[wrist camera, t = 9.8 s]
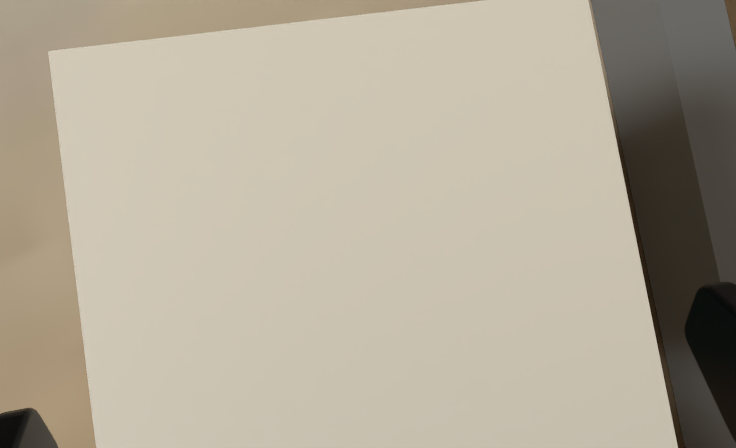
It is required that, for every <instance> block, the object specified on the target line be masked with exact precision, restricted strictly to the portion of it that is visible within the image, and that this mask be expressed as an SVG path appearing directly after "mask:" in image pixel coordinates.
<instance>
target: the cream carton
mask: <svg viewBox="0 0 736 448" xmlns="http://www.w3.org/2000/svg"><path fill="white" fill-rule="evenodd" d="M48 54H49V62H50V70H51V78H52V87H53V95H54V103H55V111H56V120H57V128H58V136H59V144H60V153H61V161H62V169H63V177H64V186H65V194H66V202H67V210H68V219H69V227H70V235H71V243H72V252H73V260H74V268H75V276H76V285H77V293H78V301H79V309H80V318H81V326H82V334H83V342H84V351H85V359H86V367H87V375H88V384H89V392H90V400H91V409H92V417H93V425H94V433H95V442H96V448H678V445H677V440H676V435H675V430H674V425H673V420H672V415H671V410H670V405H669V400H668V395H667V390H666V385H665V380H664V375H663V371H662V366H661V361H660V356H659V351H658V346H657V341H656V336H655V331H654V326H653V321H652V316H651V311H650V306H649V301H648V296H647V291H646V286H645V281H644V276H643V271H642V266H641V261H640V256H639V251H638V246H637V241H636V236H635V231H634V226H633V221H632V216H631V211H630V206H629V201H628V196H627V191H626V186H625V181H624V176H623V171H622V166H621V161H620V156H619V151H618V146H617V141H616V136H615V131H614V126H613V121H612V116H611V111H610V106H609V101H608V96H607V91H606V86H605V81H604V76H603V71H602V66H601V61H600V56H599V51H598V46H597V41H596V36H595V31H594V26H593V22H592V17H591V12H590V7H589V2H588V0H484V1H475V2H466V3H458V4H449V5H441V6H432V7H424V8H415V9H406V10H398V11H389V12H381V13H372V14H364V15H355V16H346V17H338V18H329V19H321V20H312V21H304V22H295V23H286V24H278V25H269V26H261V27H252V28H244V29H235V30H226V31H218V32H209V33H201V34H192V35H183V36H175V37H166V38H158V39H149V40H141V41H132V42H123V43H115V44H106V45H98V46H89V47H81V48H72V49H63V50H55V51H48Z"/></svg>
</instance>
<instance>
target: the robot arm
mask: <svg viewBox="0 0 736 448" xmlns="http://www.w3.org/2000/svg"><path fill="white" fill-rule="evenodd" d="M684 332H685V337H686V341H687V343H688V345H689V347H690V350H691V352H692V354H693V356H694V358H695V360H696V362H697V365H698V367H699V369H700V371H701V373H702V375H703V377H704V379H705V382H706V384H707V386H708V388H709V390H710V392H711V394H712V396H713V399H714V401H715V403H716V405H717V407H718V409H719V411H720V413H721V416H722V418H723V420H724V422H725V424H726V426H727V428H728V430H729V432H730V434H731V436H732V437H733V439H734V441H735V443H736V284H734V283H731V282H719V283H713V284H708V285H703V286H701V287H700V288H699V289H698V290H697V292H696V294H695V296H694V299H693V302H692V305H691V308H690V311H689V313H688V316H687V319H686V322H685V327H684ZM0 448H58V446H57V443H56V441H55V440H54V438H53V436H52V435H51V433H50V431H49V430H48V428H47V426H46V425H45V423H44V421H43V420H42V418H41V416H40V415H39V413H38V412H37V411H36V410H34V409H32V408H25V409H20V410H14V411H9V412H4V413H1V414H0Z"/></svg>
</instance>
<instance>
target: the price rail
mask: <svg viewBox="0 0 736 448" xmlns="http://www.w3.org/2000/svg"><path fill="white" fill-rule="evenodd" d="M591 2H592V7H593V12H594V16H595V21H596V26H597V31H598V36H599V40H600V45H601V50H602V55H603V59H604V64H605V69H606V74H607V78H608V83H609V88H610V93H611V97H612V102H613V107H614V112H615V116H616V121H617V126H618V131H619V136H620V140H621V145H622V150H623V155H624V159H625V164H626V169H627V174H628V178H629V183H630V188H631V193H632V197H633V202H634V207H635V212H636V216H637V221H638V226H639V231H640V236H641V240H642V245H643V250H644V255H645V259H646V264H647V269H648V274H649V278H650V283H651V288H652V293H653V297H654V302H655V307H656V312H657V316H658V321H659V326H660V331H661V336H662V340H663V345H664V350H665V355H666V359H667V364H668V369H669V374H670V378H671V383H672V388H673V393H674V397H675V402H676V407H677V412H678V416H679V421H680V426H681V431H682V436H683V440H684V445H685V448H736V443H735V441H734V439H733V437H732V436H731V434H730V432H729V430H728V428H727V426H726V424H725V422H724V420H723V418H722V416H721V413H720V411H719V409H718V407H717V405H716V403H715V401H714V399H713V396H712V394H711V392H710V390H709V388H708V386H707V384H706V382H705V379H704V377H703V375H702V373H701V371H700V369H699V367H698V365H697V362H696V360H695V358H694V356H693V354H692V352H691V350H690V347H689V345H688V343H687V341H686V337H685V332H684V327H685V322H686V319H687V316H688V313H689V311H690V308H691V305H692V302H693V299H694V296H695V294H696V292H697V290H698V289H699V288H700V287H701V286H703V285H708V284H713V283H719V282H731V283H734V284H736V48H735V44H734V40H733V35H732V31H731V27H730V22H729V18H728V14H727V9H726V5H725V0H591Z"/></svg>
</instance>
